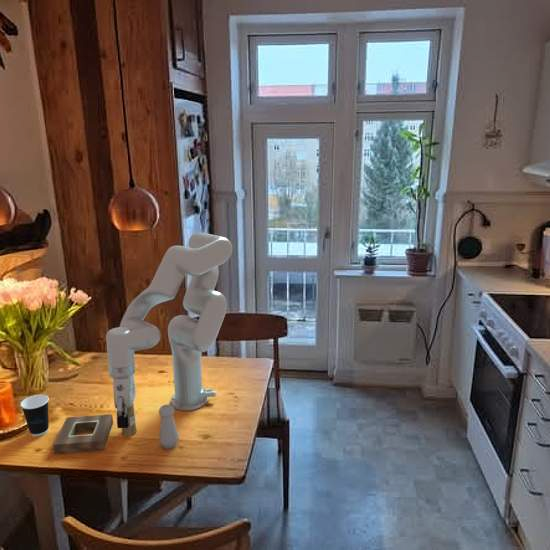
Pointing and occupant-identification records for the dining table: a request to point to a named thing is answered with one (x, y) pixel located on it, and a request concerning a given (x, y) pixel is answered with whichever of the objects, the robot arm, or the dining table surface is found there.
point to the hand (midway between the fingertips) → (125, 418)
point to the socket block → (83, 443)
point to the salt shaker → (167, 427)
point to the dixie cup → (36, 414)
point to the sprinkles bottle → (130, 422)
